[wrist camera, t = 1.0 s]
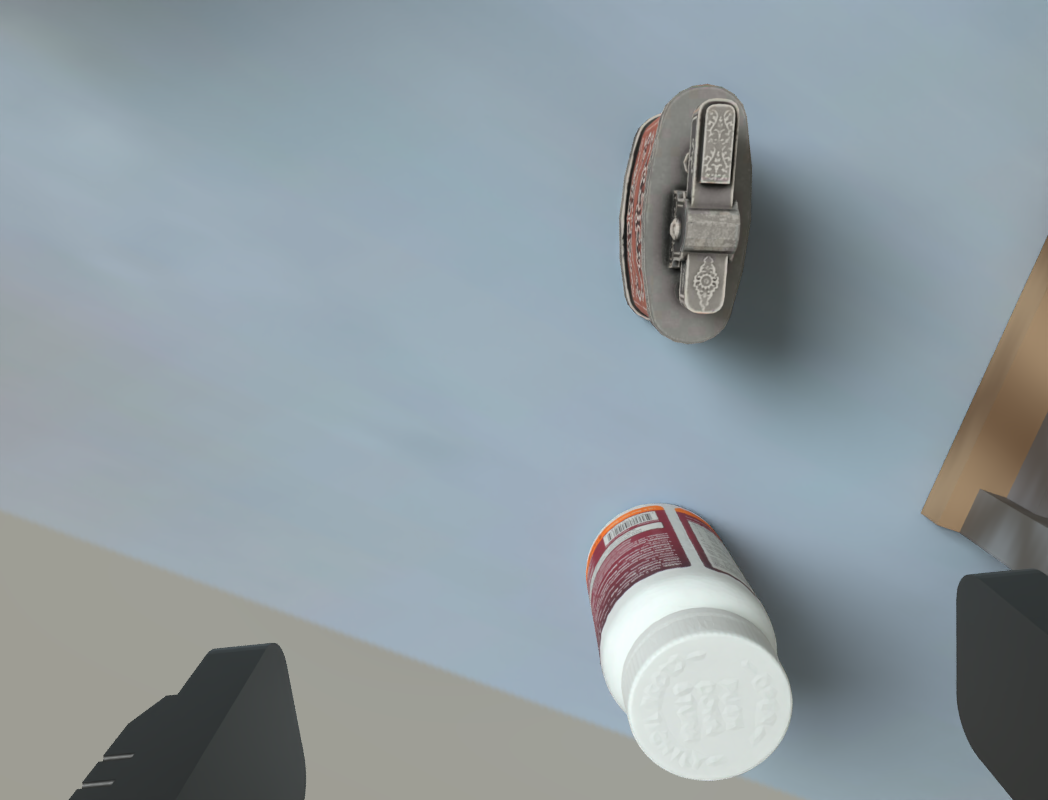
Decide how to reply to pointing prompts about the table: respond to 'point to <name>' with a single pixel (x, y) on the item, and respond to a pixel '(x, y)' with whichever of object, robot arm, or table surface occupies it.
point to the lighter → (687, 214)
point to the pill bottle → (686, 644)
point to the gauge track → (1005, 443)
